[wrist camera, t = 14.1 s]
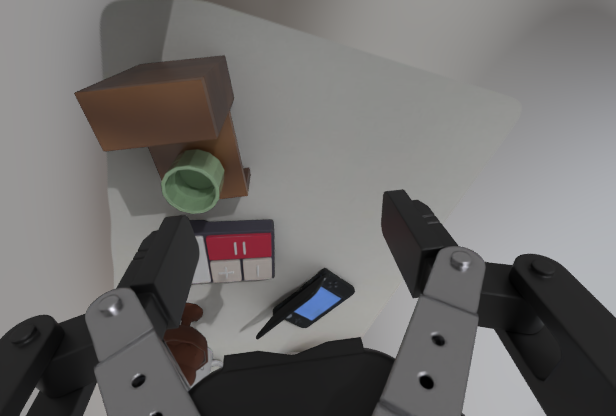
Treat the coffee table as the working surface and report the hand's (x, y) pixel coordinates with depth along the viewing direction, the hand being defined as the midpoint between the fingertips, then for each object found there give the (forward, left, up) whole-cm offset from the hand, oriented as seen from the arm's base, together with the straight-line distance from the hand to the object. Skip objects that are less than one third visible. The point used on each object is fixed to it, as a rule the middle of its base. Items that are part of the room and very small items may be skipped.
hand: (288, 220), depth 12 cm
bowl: (+9, -11, -24) cm, 28 cm away
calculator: (+26, -12, -30) cm, 42 cm away
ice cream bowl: (+42, -24, -30) cm, 57 cm away
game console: (+41, 0, -30) cm, 51 cm away
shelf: (+5, -11, -30) cm, 32 cm away
